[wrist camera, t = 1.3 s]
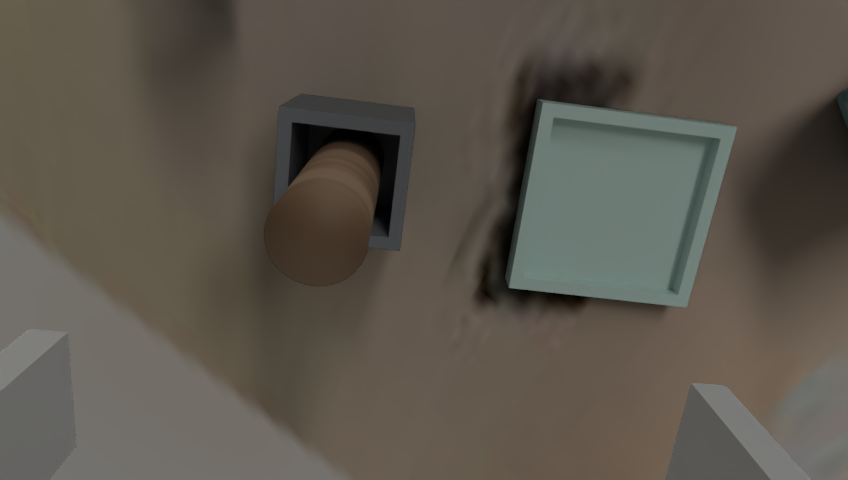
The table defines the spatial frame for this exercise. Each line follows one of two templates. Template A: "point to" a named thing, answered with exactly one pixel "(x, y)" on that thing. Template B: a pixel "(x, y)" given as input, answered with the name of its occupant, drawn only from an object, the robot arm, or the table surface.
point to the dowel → (327, 211)
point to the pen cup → (320, 116)
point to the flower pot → (844, 104)
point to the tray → (616, 203)
